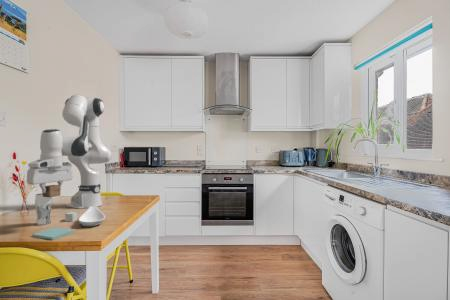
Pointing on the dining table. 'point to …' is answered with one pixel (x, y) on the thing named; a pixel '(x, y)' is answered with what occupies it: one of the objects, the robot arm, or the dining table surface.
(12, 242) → the dining table surface
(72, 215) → the grey cube
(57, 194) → the walnut block
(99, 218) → the spoon rest
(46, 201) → the beer glass
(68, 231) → the teal mat
